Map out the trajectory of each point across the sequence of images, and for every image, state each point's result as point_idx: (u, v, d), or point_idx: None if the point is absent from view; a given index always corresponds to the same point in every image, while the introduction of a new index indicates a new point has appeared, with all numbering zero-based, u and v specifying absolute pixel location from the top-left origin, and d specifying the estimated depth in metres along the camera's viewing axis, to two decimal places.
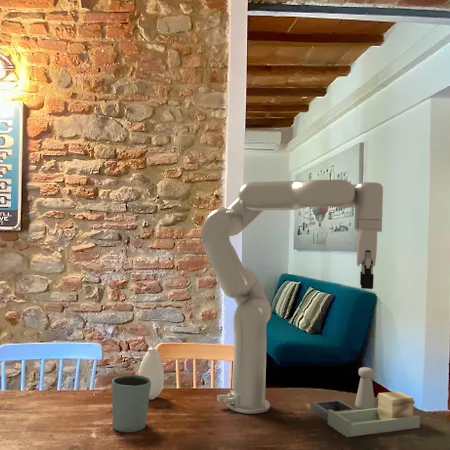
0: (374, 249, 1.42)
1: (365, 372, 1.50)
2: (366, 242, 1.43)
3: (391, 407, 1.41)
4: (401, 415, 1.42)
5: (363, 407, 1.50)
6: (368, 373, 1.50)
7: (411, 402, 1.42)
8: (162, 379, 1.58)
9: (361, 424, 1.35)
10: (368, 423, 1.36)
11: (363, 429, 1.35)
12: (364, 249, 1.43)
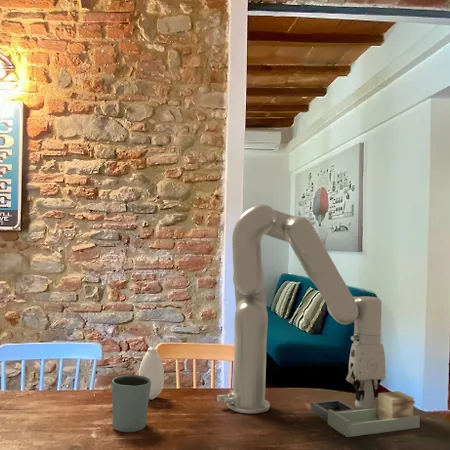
0: None
1: None
2: None
3: (391, 407, 1.41)
4: (401, 415, 1.42)
5: (363, 407, 1.50)
6: None
7: (411, 402, 1.42)
8: (162, 379, 1.58)
9: (361, 424, 1.35)
10: (368, 423, 1.36)
11: (363, 429, 1.35)
12: None
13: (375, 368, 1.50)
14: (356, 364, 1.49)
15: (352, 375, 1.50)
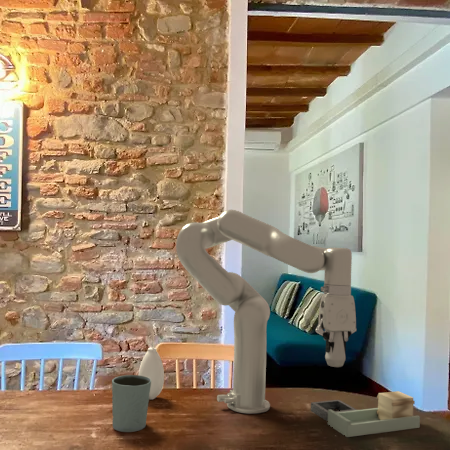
0: None
1: None
2: None
3: (391, 407, 1.41)
4: (401, 415, 1.42)
5: (333, 358, 1.47)
6: None
7: (411, 402, 1.42)
8: (162, 379, 1.58)
9: (361, 424, 1.35)
10: (368, 423, 1.36)
11: (363, 429, 1.35)
12: None
13: (345, 319, 1.48)
14: (325, 315, 1.46)
15: (321, 326, 1.47)
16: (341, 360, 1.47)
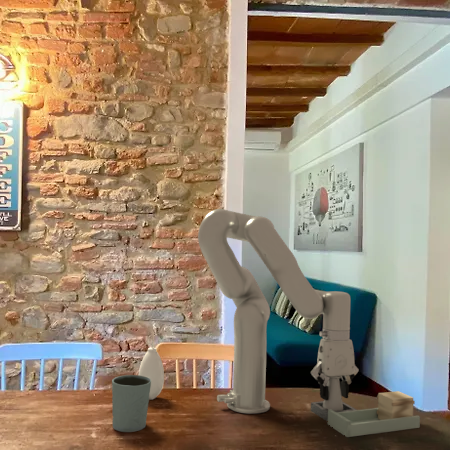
0: None
1: None
2: None
3: (391, 407, 1.41)
4: (401, 415, 1.42)
5: None
6: None
7: (411, 402, 1.42)
8: (162, 379, 1.58)
9: (361, 424, 1.35)
10: (368, 423, 1.36)
11: (363, 429, 1.35)
12: None
13: (344, 364, 1.48)
14: (324, 360, 1.46)
15: (319, 368, 1.47)
16: (338, 410, 1.47)
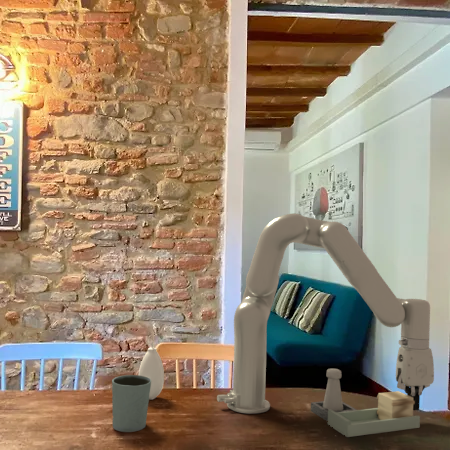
0: None
1: (332, 373, 1.48)
2: None
3: (391, 407, 1.41)
4: (401, 415, 1.42)
5: None
6: (335, 375, 1.48)
7: (411, 402, 1.42)
8: (162, 379, 1.58)
9: (361, 424, 1.35)
10: (368, 423, 1.36)
11: (363, 429, 1.35)
12: None
13: (424, 373, 1.45)
14: (405, 369, 1.43)
15: (401, 383, 1.45)
16: None
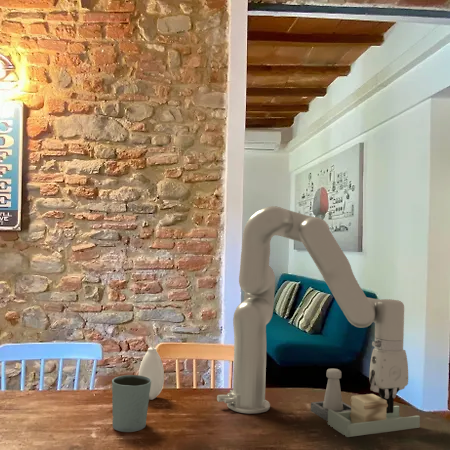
0: None
1: (332, 373, 1.48)
2: None
3: (363, 410, 1.38)
4: (374, 418, 1.38)
5: None
6: (335, 375, 1.48)
7: (384, 405, 1.39)
8: (162, 379, 1.58)
9: (361, 424, 1.35)
10: (368, 423, 1.36)
11: (363, 429, 1.35)
12: None
13: (398, 375, 1.41)
14: (378, 371, 1.40)
15: (375, 385, 1.41)
16: None
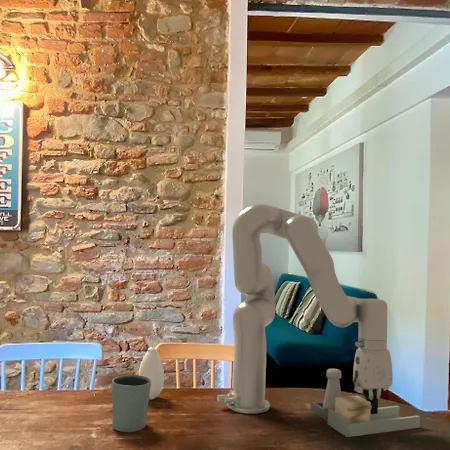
0: None
1: (332, 373, 1.48)
2: None
3: (347, 412, 1.36)
4: (357, 420, 1.36)
5: None
6: (335, 375, 1.48)
7: (368, 407, 1.37)
8: (162, 379, 1.58)
9: (361, 424, 1.35)
10: (368, 423, 1.36)
11: (363, 429, 1.35)
12: None
13: (381, 376, 1.40)
14: (361, 372, 1.38)
15: (358, 386, 1.39)
16: None
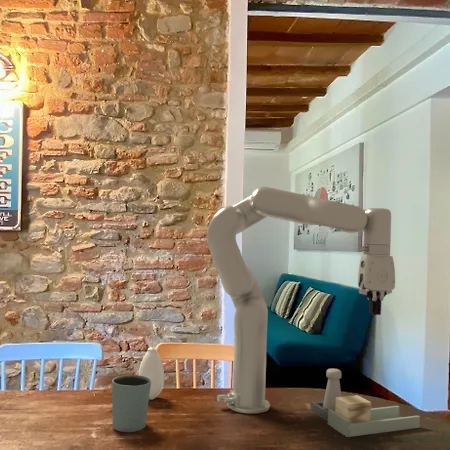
0: None
1: (332, 373, 1.48)
2: None
3: (347, 412, 1.36)
4: (358, 420, 1.36)
5: None
6: (335, 375, 1.48)
7: (368, 407, 1.37)
8: (162, 379, 1.58)
9: (361, 424, 1.35)
10: (368, 423, 1.36)
11: (363, 429, 1.35)
12: None
13: (385, 279, 1.49)
14: (366, 274, 1.48)
15: (363, 288, 1.49)
16: None
